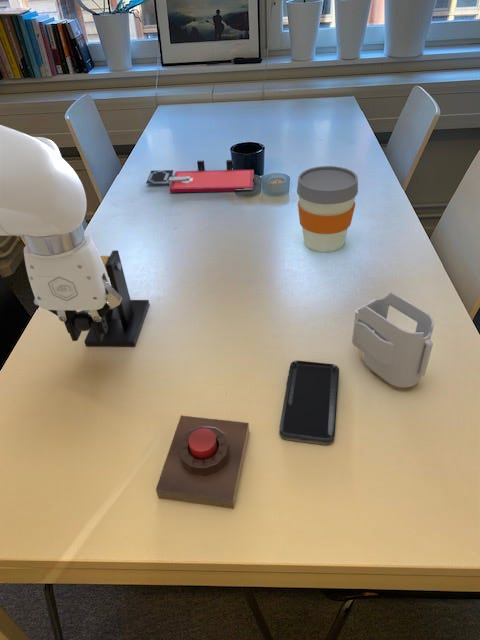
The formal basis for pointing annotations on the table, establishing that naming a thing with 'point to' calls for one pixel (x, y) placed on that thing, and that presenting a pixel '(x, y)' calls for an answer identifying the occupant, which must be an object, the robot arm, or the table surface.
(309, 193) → the reusable coffee cup
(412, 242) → the table surface
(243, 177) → the red board with handle
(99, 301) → the robot arm
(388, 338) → the cable organizer
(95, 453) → the table surface
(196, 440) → the button
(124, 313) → the switch bracket
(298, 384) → the phone
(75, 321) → the switch lever
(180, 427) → the button block
